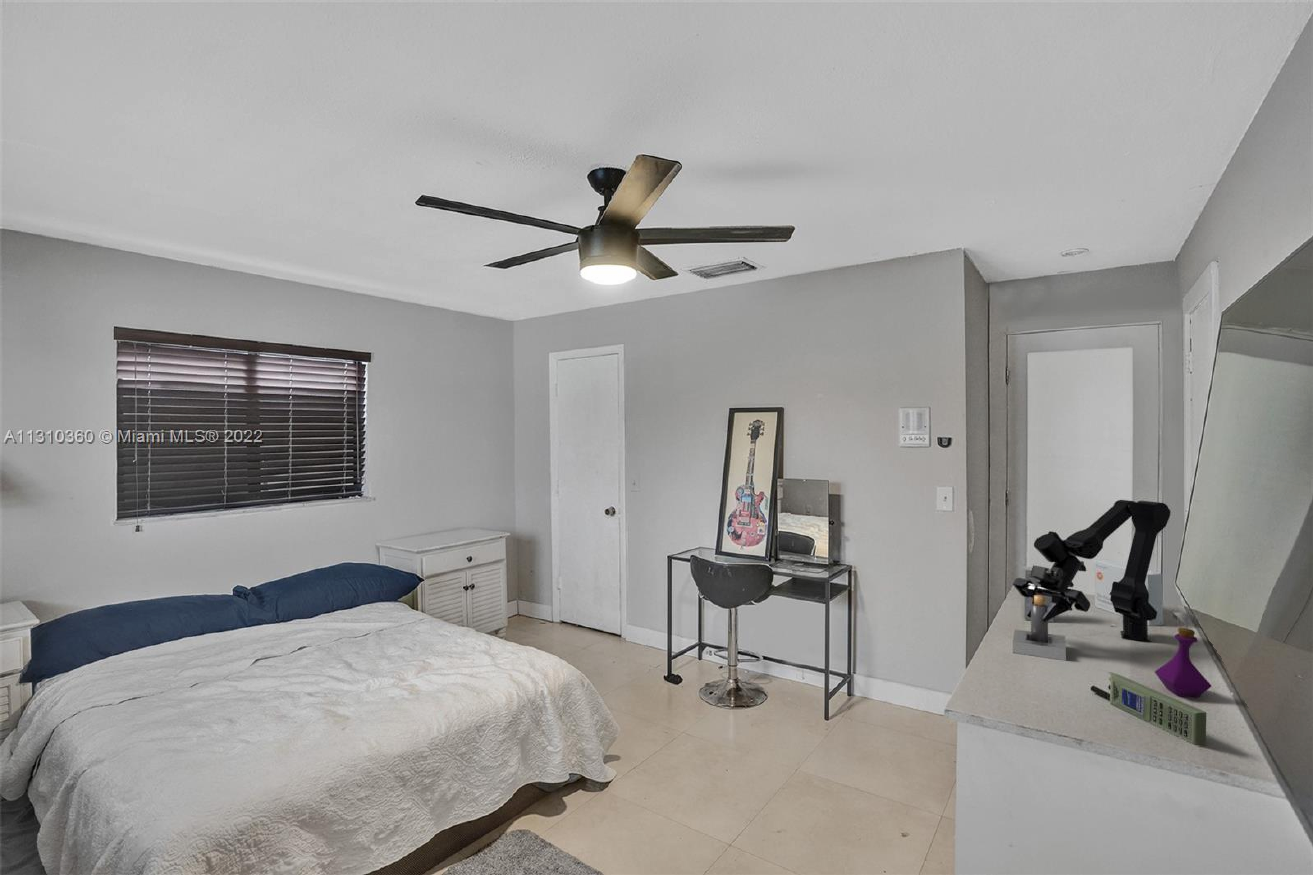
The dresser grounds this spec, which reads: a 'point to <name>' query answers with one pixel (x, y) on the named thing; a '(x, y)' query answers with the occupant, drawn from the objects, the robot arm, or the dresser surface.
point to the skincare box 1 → (1047, 600)
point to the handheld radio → (1156, 708)
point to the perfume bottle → (1183, 666)
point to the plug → (1039, 620)
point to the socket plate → (1039, 645)
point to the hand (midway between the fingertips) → (1035, 618)
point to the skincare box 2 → (1115, 572)
